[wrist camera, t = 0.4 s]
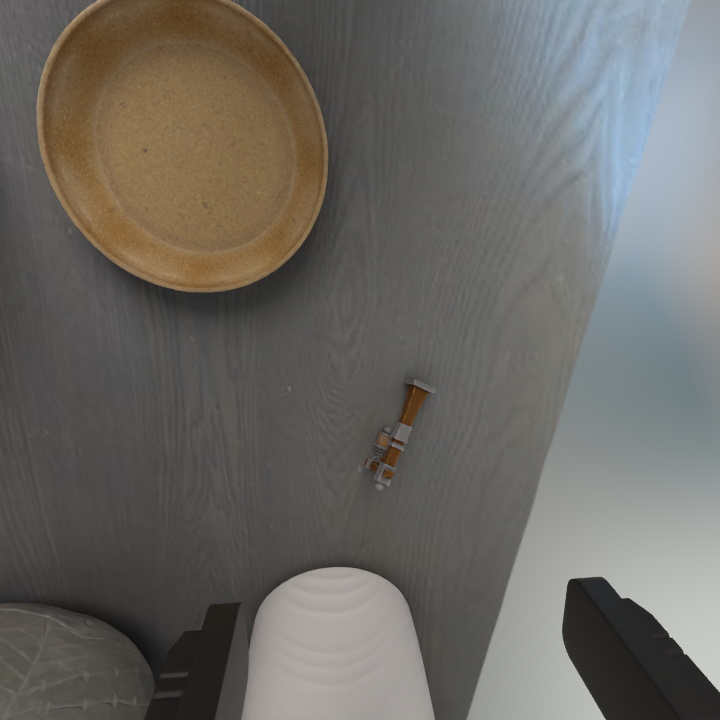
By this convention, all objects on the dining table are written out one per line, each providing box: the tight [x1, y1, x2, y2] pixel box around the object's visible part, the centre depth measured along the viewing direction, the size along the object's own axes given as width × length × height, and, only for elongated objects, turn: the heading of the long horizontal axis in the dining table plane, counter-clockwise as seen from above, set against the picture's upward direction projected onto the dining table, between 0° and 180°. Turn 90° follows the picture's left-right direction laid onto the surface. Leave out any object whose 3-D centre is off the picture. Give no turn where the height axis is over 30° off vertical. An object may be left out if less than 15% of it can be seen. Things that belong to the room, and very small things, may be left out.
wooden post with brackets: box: [364, 378, 437, 491], centre depth 34 cm, size 2×8×4 cm, turn 152°
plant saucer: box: [37, 0, 328, 293], centre depth 26 cm, size 15×15×3 cm
